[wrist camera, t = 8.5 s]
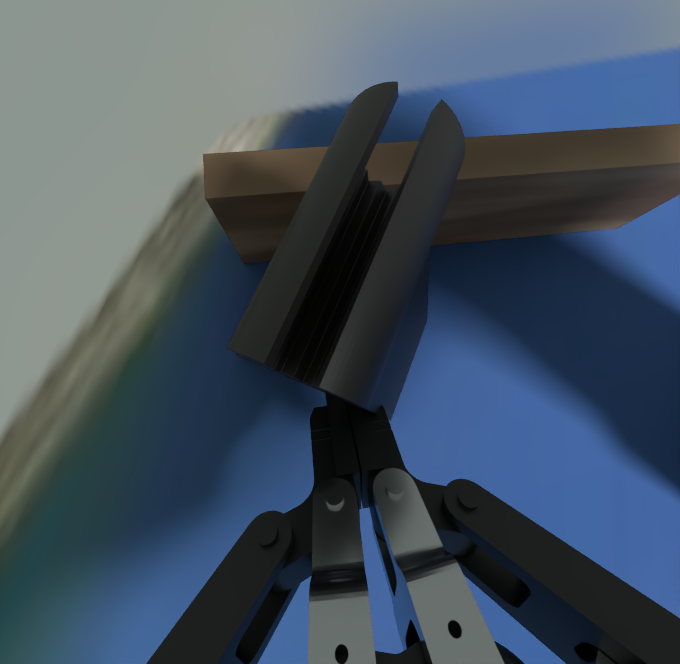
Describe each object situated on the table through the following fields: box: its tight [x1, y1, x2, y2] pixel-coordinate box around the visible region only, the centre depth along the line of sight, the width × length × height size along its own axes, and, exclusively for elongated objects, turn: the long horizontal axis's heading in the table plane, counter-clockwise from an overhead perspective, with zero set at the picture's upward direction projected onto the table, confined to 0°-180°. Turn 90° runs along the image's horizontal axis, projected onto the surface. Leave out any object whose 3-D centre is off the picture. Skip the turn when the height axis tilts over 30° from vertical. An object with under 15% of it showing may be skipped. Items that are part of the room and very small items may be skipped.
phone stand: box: [227, 82, 465, 421], centre depth 11 cm, size 9×6×12 cm, turn 67°
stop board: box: [203, 124, 680, 264], centre depth 16 cm, size 2×24×6 cm, turn 98°
